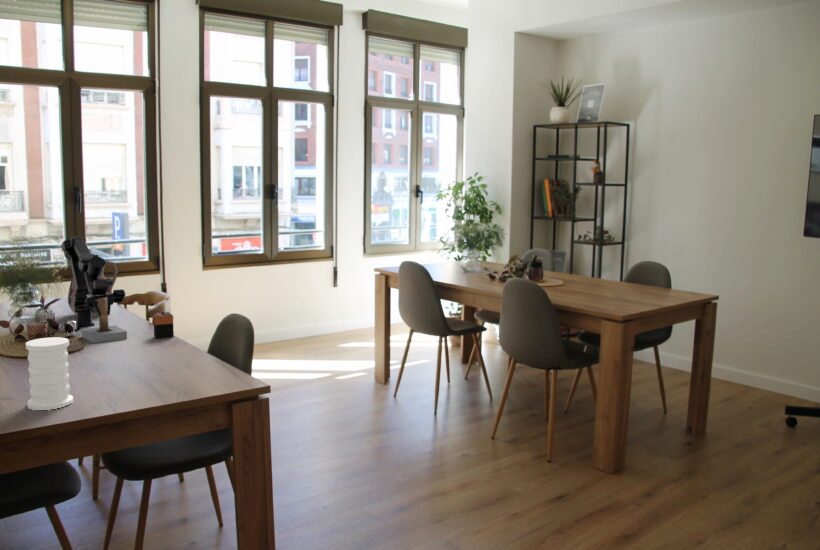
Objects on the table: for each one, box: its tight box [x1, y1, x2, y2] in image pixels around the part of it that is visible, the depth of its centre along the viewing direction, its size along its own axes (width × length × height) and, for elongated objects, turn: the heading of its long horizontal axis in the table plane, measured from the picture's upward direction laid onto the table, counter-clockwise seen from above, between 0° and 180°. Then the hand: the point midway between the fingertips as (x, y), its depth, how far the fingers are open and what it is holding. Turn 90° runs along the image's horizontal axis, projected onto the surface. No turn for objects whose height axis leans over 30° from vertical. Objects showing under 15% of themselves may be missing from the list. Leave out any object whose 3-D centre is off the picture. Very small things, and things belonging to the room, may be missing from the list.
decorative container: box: [25, 336, 74, 411], centre depth 198 cm, size 12×12×18 cm
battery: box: [153, 311, 175, 340], centre depth 281 cm, size 4×7×10 cm, turn 121°
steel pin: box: [66, 320, 78, 337], centre depth 279 cm, size 3×3×6 cm
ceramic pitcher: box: [67, 260, 119, 317], centre depth 318 cm, size 18×21×25 cm
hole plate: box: [81, 325, 128, 344], centre depth 278 cm, size 13×13×3 cm
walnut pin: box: [98, 298, 109, 332], centre depth 277 cm, size 3×3×13 cm
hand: (104, 315), depth 276 cm, fingers closed on walnut pin, 3 cm apart
